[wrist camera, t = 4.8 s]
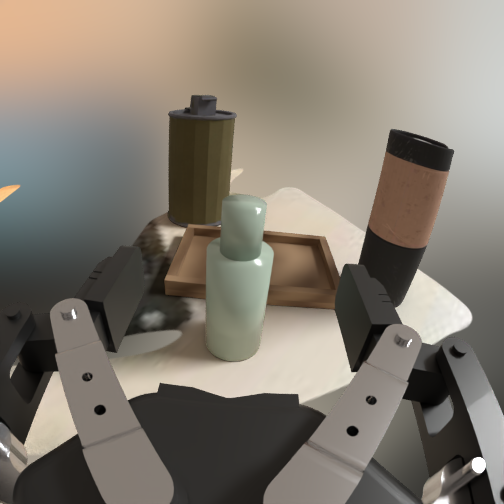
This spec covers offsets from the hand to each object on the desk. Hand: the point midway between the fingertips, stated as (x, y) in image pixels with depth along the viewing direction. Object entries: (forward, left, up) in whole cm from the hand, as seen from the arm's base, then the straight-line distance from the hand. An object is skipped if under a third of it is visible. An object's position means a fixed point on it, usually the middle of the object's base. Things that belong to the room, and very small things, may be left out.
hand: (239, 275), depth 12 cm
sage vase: (0, +11, -15) cm, 19 cm away
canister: (-8, +39, -16) cm, 43 cm away
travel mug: (+18, +21, -16) cm, 32 cm away
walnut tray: (+2, +24, -15) cm, 29 cm away
